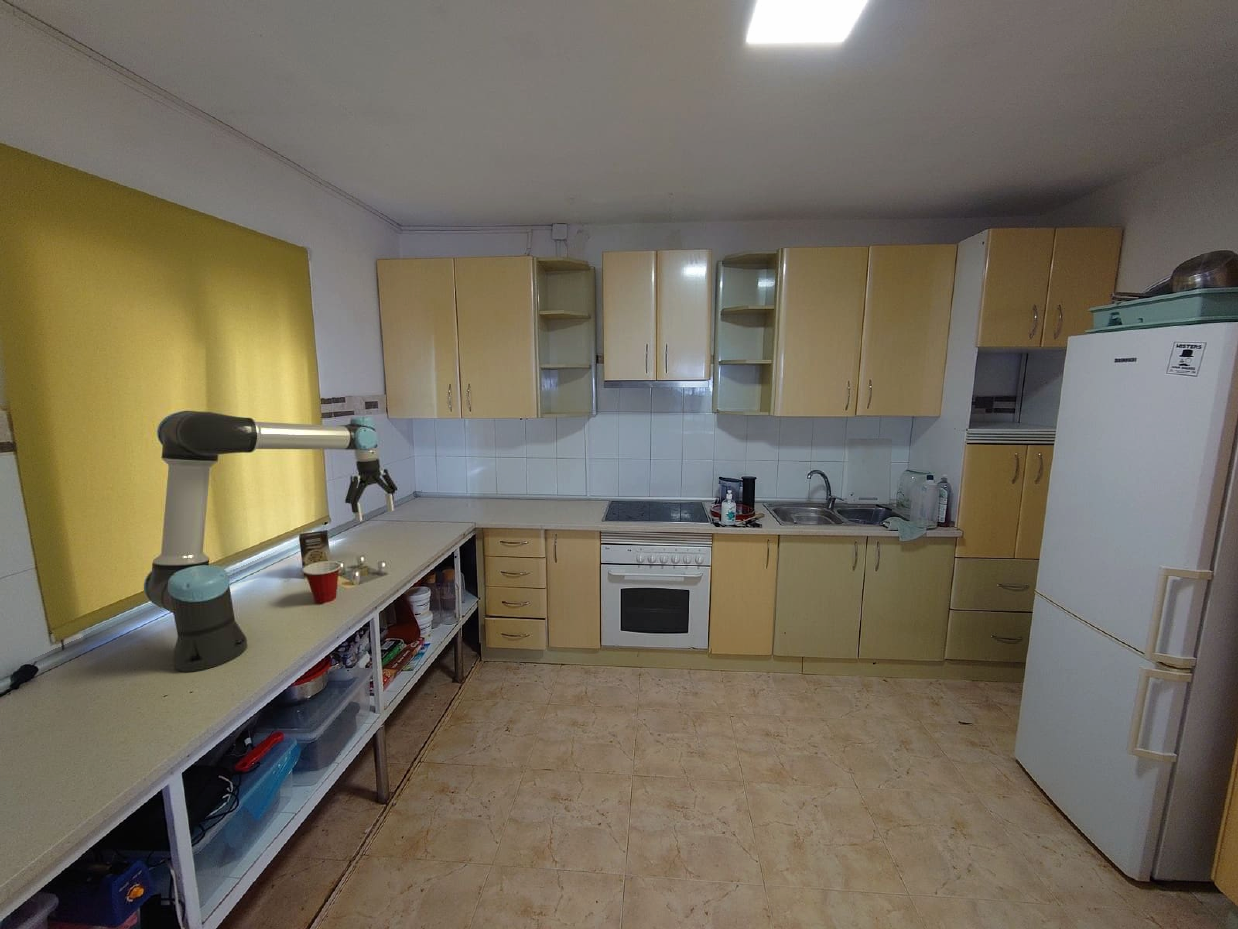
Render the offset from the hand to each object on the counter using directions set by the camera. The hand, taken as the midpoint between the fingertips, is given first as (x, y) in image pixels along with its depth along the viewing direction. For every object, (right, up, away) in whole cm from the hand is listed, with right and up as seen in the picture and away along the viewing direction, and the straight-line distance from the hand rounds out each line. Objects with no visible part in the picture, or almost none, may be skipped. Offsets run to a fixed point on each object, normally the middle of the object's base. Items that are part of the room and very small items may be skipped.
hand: (375, 515), depth 182 cm
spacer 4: (+3, -22, 0) cm, 22 cm away
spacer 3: (-8, -21, +6) cm, 23 cm away
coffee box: (-22, -23, +1) cm, 31 cm away
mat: (-6, -22, -2) cm, 23 cm away
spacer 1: (-13, -22, 0) cm, 26 cm away
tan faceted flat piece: (-4, -22, 0) cm, 22 cm away
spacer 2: (-2, -24, -9) cm, 25 cm away
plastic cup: (-6, -26, -21) cm, 34 cm away
